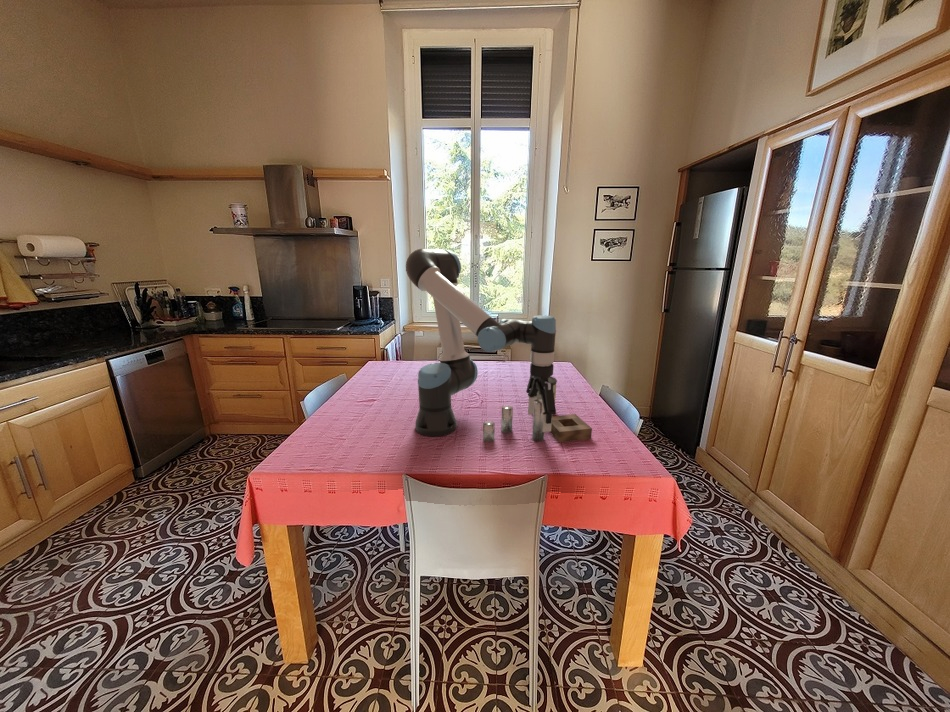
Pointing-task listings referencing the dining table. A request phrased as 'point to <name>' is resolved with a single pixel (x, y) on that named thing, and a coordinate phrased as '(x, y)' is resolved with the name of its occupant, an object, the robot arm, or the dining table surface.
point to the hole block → (570, 428)
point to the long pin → (538, 421)
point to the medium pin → (506, 419)
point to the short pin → (488, 431)
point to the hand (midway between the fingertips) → (538, 422)
